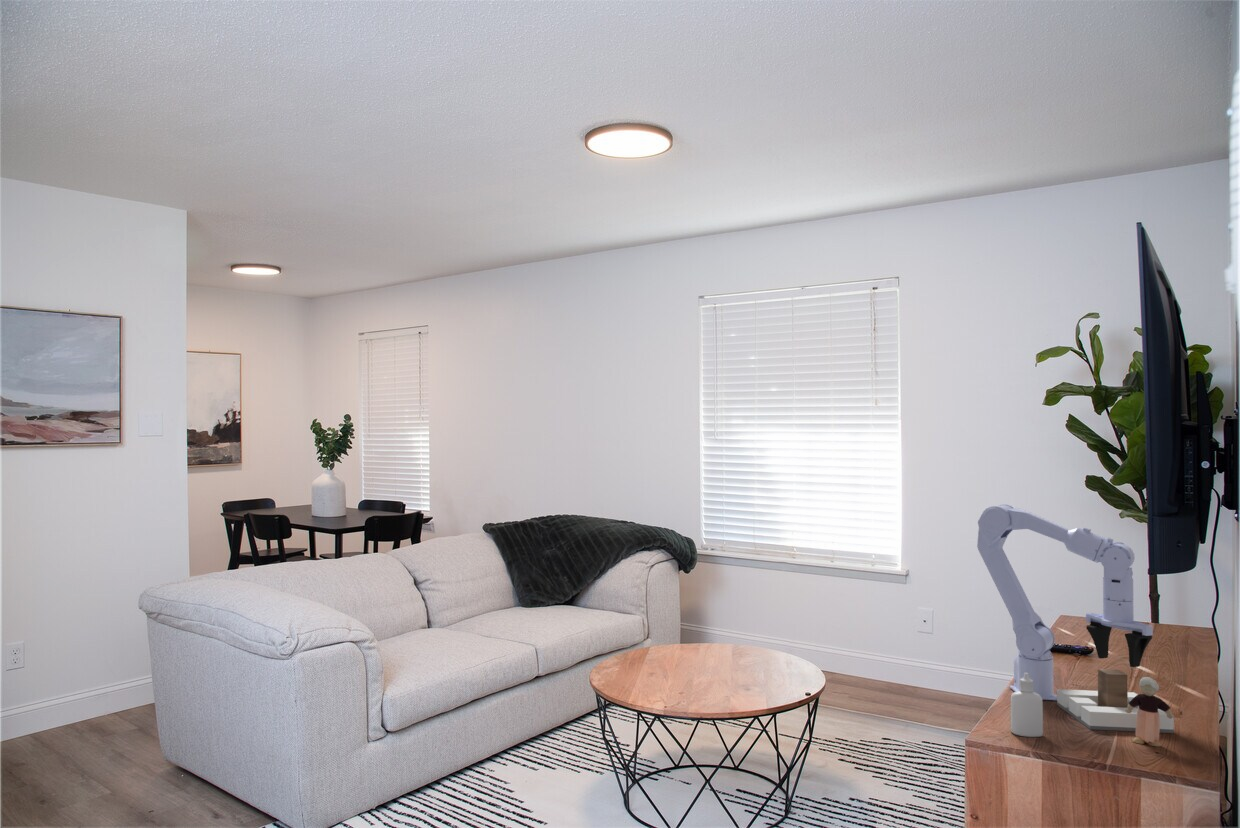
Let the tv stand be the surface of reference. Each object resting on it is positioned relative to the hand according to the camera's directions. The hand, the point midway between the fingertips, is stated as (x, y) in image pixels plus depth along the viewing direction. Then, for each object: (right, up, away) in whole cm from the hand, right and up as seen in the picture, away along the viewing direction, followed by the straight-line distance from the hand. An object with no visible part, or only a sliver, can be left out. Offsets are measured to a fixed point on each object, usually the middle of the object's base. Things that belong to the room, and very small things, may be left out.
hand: (1118, 662), depth 183 cm
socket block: (-5, -10, -6) cm, 13 cm away
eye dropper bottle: (-28, -10, -17) cm, 34 cm away
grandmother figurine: (-6, -10, -21) cm, 24 cm away
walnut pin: (-5, -9, -6) cm, 12 cm away
